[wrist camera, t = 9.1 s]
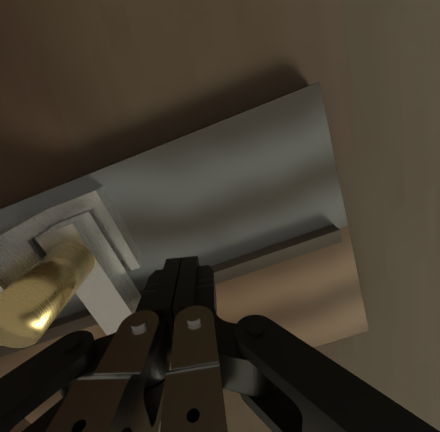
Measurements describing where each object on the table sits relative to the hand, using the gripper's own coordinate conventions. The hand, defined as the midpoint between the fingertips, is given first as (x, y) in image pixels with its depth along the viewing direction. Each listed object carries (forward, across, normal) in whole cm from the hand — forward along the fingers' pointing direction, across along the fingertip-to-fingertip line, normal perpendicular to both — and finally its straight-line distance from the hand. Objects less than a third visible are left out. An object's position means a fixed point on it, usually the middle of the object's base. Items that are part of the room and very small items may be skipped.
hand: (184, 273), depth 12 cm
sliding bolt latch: (+8, +5, +6) cm, 11 cm away
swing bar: (+5, +5, +6) cm, 9 cm away
